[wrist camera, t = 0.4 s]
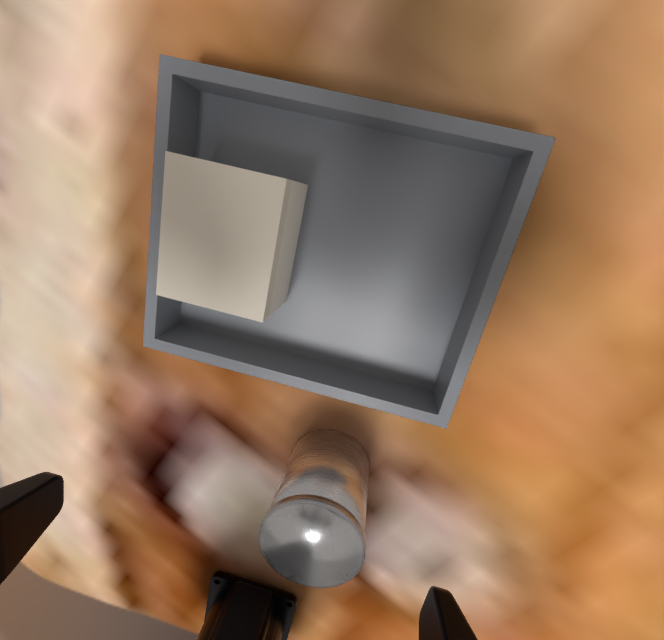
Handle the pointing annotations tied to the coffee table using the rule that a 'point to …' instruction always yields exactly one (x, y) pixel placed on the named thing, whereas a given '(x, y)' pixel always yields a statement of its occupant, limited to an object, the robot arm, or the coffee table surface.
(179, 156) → the beige rectangular block
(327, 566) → the steel tin
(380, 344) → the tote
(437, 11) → the coffee table surface
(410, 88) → the coffee table surface
